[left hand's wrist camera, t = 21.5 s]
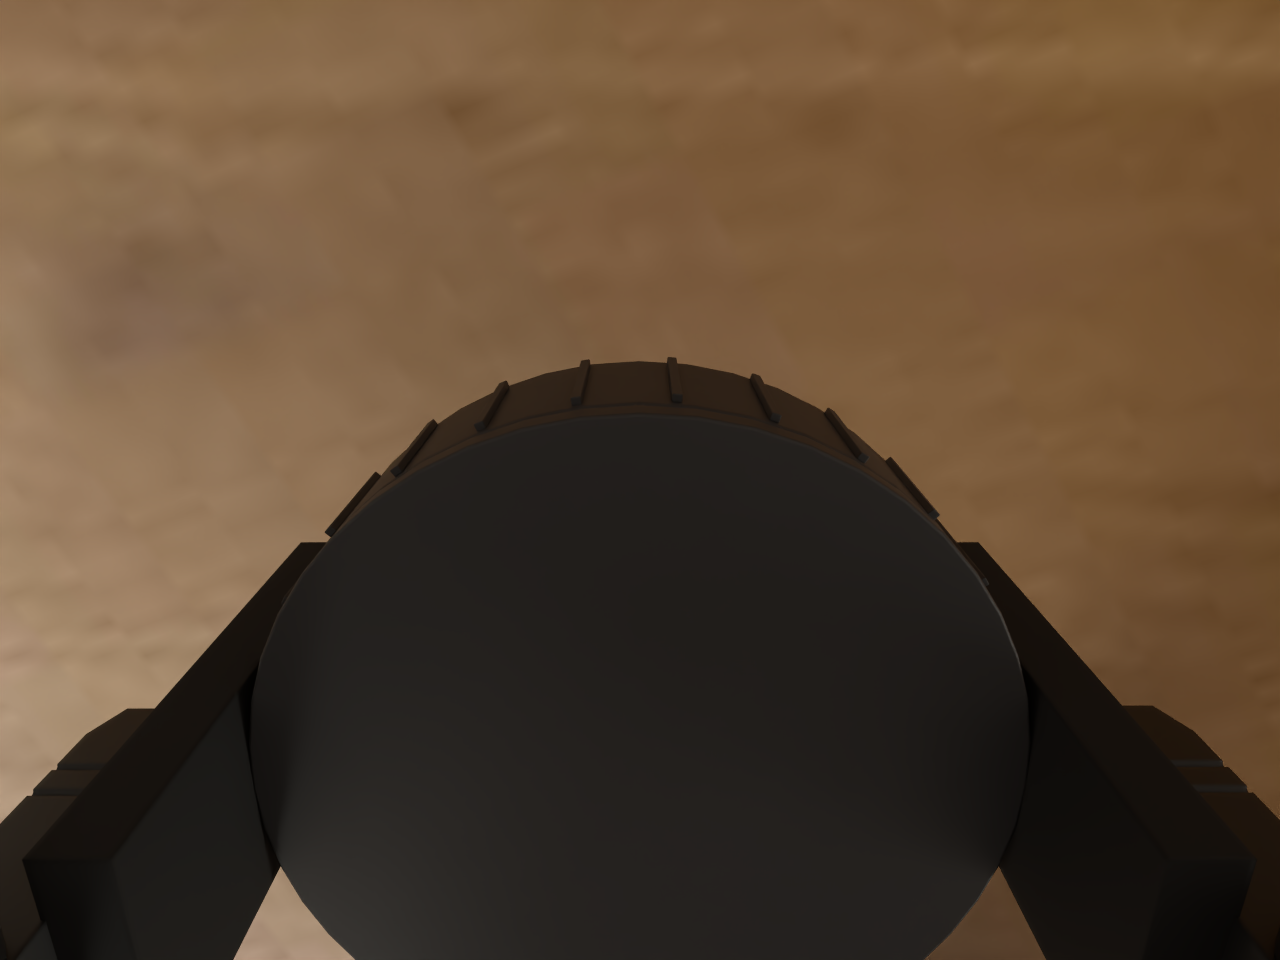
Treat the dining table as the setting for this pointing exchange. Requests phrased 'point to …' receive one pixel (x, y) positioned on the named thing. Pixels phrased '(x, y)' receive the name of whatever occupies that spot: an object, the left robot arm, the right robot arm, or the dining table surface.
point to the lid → (639, 689)
